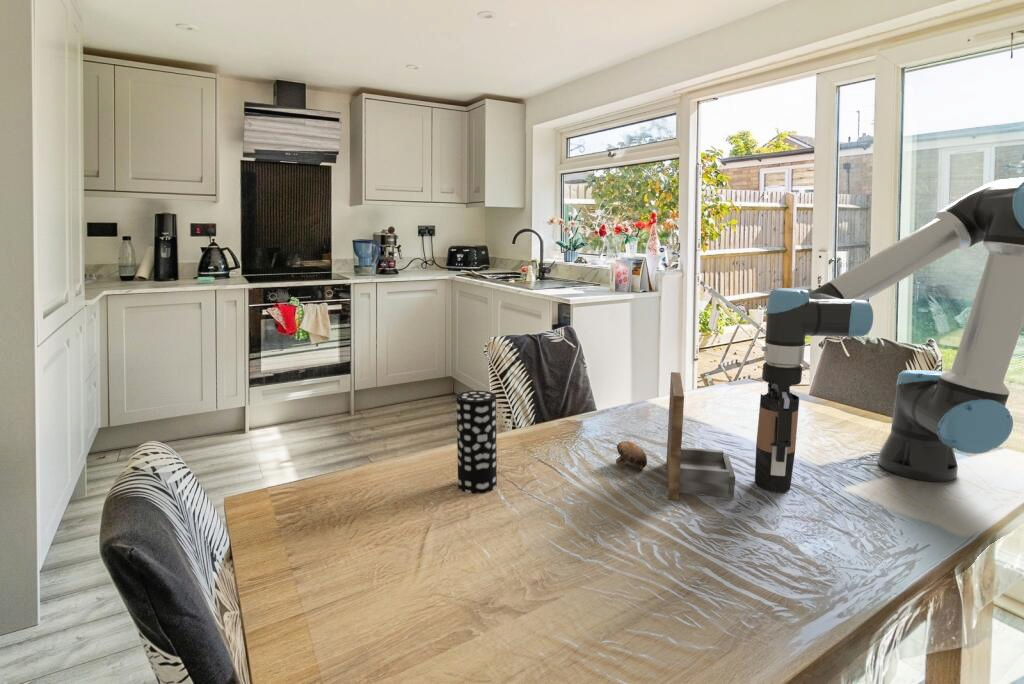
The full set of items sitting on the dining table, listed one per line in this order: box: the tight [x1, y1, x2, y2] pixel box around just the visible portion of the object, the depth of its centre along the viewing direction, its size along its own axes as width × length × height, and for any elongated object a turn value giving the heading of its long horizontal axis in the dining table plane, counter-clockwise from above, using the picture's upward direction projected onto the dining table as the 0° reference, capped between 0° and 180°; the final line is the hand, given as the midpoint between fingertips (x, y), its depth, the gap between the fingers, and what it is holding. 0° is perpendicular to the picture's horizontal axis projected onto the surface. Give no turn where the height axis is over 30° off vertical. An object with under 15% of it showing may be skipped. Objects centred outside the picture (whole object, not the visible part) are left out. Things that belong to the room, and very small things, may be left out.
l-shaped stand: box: [665, 371, 736, 501], centre depth 132 cm, size 13×20×22 cm, turn 167°
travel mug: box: [754, 392, 800, 493], centre depth 131 cm, size 8×8×20 cm
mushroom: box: [615, 440, 648, 469], centre depth 142 cm, size 8×8×6 cm
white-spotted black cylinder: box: [456, 390, 498, 495], centre depth 131 cm, size 8×8×20 cm
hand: (773, 467), depth 132 cm, fingers closed on travel mug, 8 cm apart
